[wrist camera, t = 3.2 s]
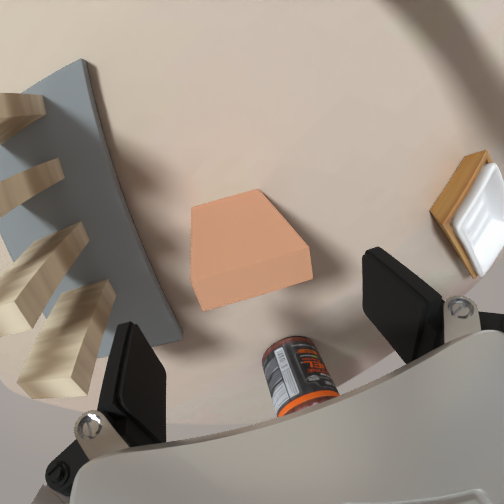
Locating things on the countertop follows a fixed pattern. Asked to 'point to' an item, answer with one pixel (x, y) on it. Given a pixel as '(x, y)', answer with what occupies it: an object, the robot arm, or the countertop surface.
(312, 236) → the countertop surface
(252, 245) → the domino
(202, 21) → the countertop surface
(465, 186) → the soap dish
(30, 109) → the domino
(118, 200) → the runway mat
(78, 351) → the domino
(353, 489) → the robot arm
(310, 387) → the supplement bottle
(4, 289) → the domino
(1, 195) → the domino
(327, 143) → the countertop surface
